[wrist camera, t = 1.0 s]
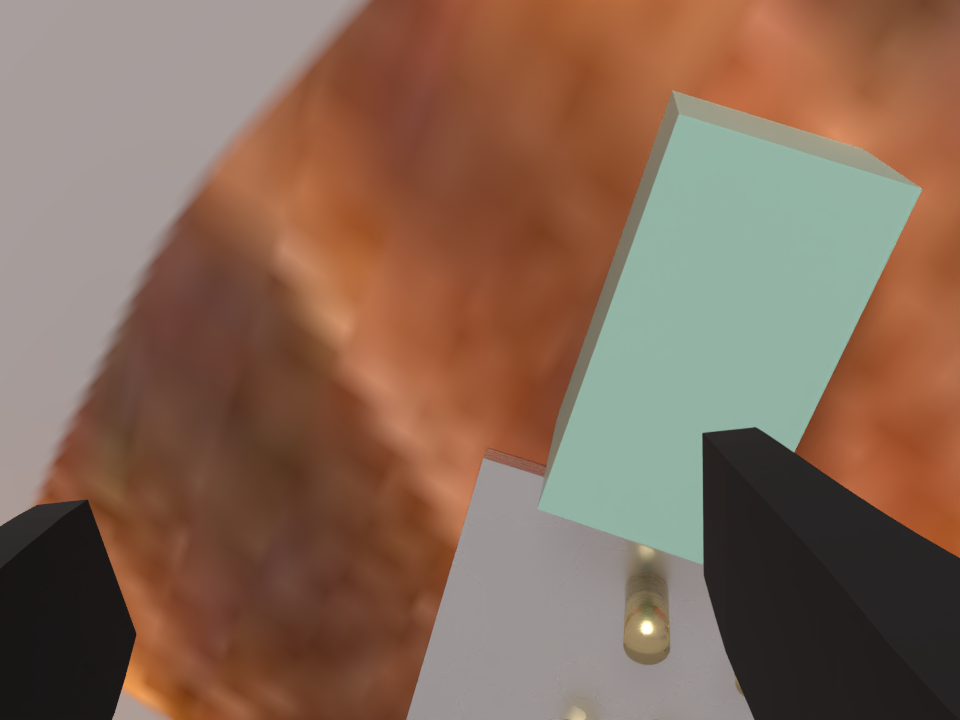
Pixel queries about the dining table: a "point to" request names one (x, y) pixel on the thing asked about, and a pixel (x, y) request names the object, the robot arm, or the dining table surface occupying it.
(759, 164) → the mint green cuboid
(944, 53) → the dining table surface
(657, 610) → the standoff posts
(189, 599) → the dining table surface
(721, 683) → the plate
